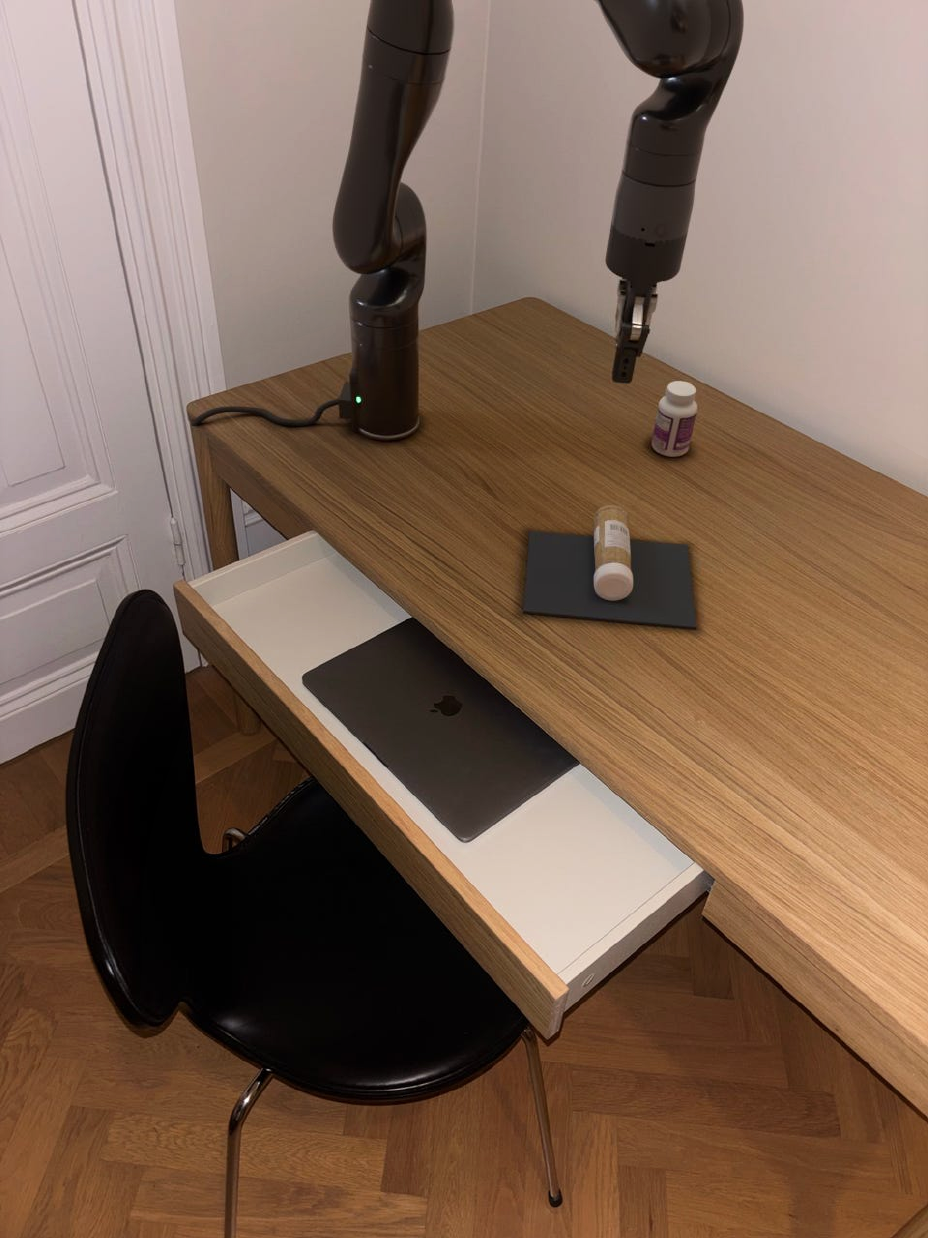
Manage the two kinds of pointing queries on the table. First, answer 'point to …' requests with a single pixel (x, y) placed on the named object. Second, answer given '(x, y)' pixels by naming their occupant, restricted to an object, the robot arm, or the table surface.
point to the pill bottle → (675, 419)
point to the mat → (568, 582)
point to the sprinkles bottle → (612, 553)
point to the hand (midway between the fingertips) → (621, 379)
